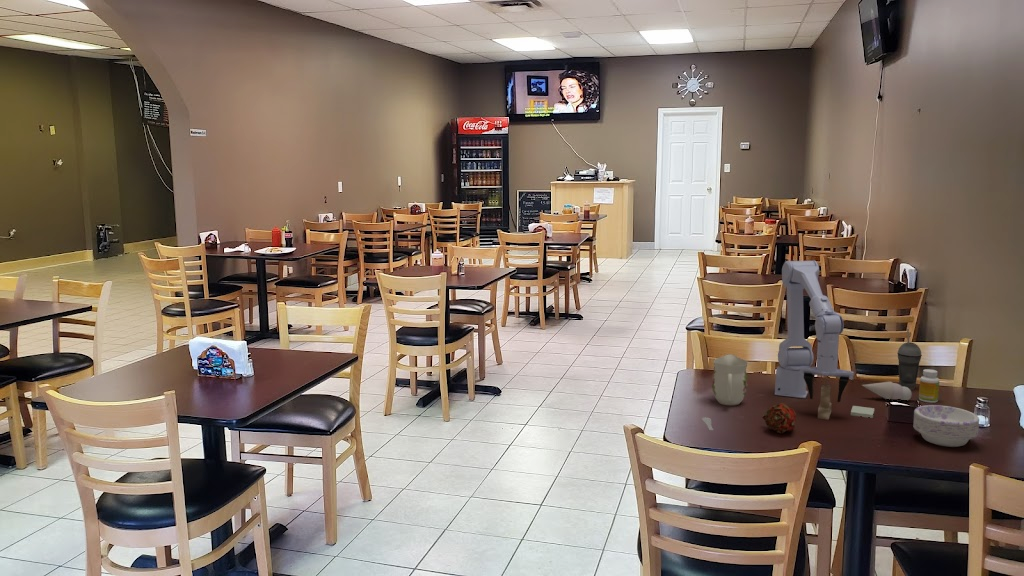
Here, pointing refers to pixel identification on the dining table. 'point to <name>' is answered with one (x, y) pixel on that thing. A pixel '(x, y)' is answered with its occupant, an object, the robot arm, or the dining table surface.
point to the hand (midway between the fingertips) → (825, 399)
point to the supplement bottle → (929, 386)
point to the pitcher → (729, 379)
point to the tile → (862, 411)
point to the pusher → (825, 403)
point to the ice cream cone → (890, 390)
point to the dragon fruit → (780, 418)
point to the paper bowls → (945, 425)
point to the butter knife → (707, 422)
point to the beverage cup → (908, 363)
